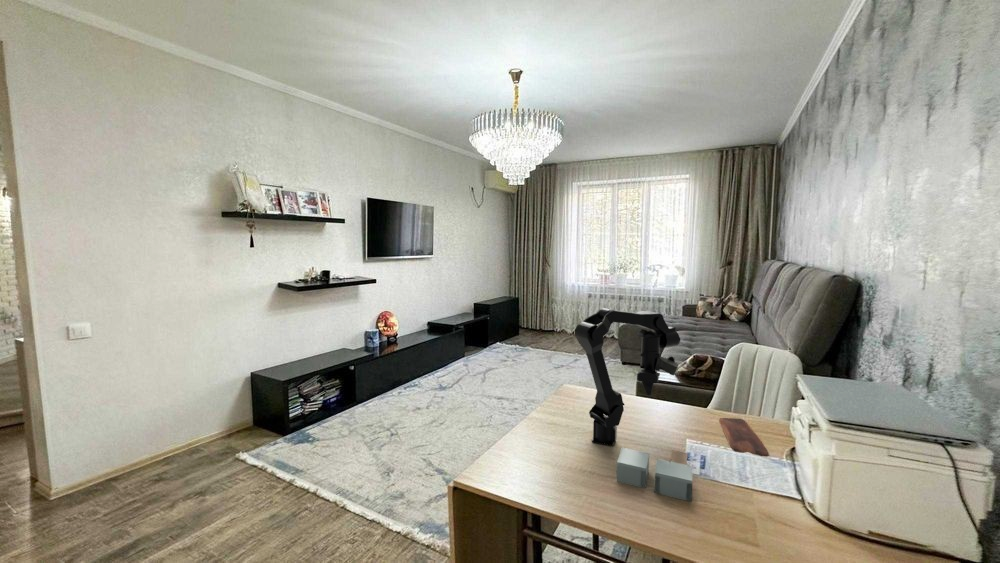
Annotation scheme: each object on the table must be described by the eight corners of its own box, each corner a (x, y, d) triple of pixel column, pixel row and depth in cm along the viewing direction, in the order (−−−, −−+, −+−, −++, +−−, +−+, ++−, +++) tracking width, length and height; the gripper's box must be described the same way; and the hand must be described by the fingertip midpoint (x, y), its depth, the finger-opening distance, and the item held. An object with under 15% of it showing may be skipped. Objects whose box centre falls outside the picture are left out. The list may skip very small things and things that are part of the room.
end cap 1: (645, 488, 102) (646, 468, 101) (616, 481, 105) (617, 461, 104) (648, 471, 109) (649, 453, 109) (621, 465, 112) (622, 447, 112)
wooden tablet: (716, 413, 145) (747, 414, 142) (716, 419, 145) (748, 420, 142) (731, 448, 120) (770, 450, 117) (732, 456, 120) (771, 457, 117)
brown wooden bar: (668, 492, 101) (669, 478, 100) (671, 461, 115) (671, 449, 115) (686, 496, 99) (686, 482, 99) (686, 464, 113) (686, 452, 113)
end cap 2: (654, 492, 100) (655, 472, 99) (656, 477, 106) (657, 458, 106) (691, 501, 96) (692, 480, 96) (691, 485, 103) (692, 466, 102)
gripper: (676, 359, 120) (674, 409, 122) (677, 345, 137) (676, 389, 138) (637, 355, 125) (636, 403, 126) (643, 342, 142) (642, 385, 143)
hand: (649, 395), depth 133 cm, fingers closed
